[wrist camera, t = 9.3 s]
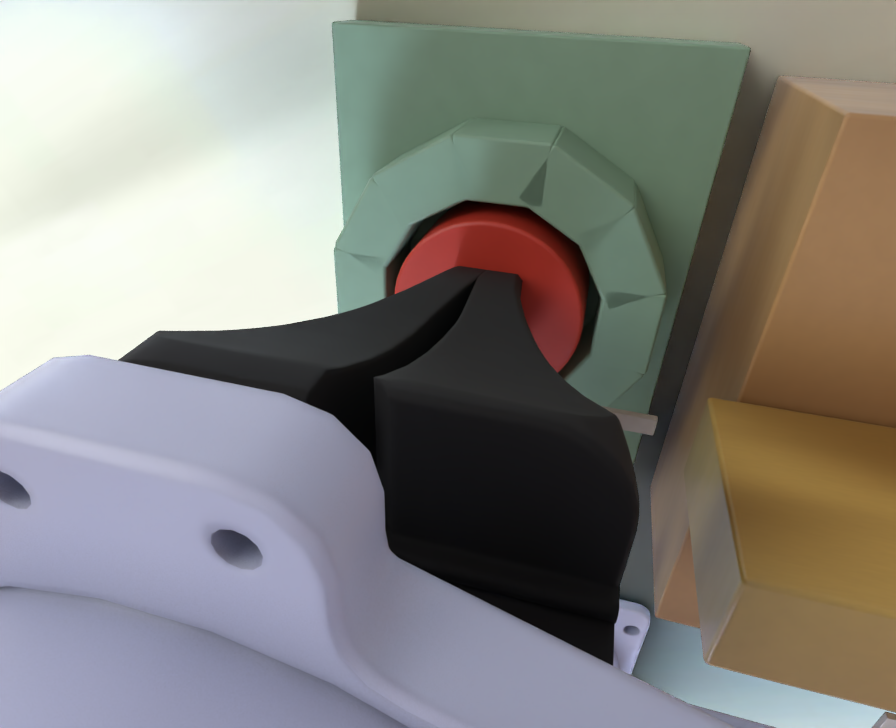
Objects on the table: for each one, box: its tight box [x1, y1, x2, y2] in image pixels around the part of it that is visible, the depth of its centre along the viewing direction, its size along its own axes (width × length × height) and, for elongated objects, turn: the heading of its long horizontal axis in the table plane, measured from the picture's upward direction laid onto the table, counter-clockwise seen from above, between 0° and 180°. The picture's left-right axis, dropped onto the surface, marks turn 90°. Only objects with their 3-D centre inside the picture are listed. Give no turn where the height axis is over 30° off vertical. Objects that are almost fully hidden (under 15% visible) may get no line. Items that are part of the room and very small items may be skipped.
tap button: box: [395, 200, 589, 373], centre depth 13 cm, size 4×4×2 cm
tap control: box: [332, 20, 751, 465], centre depth 14 cm, size 10×8×3 cm
